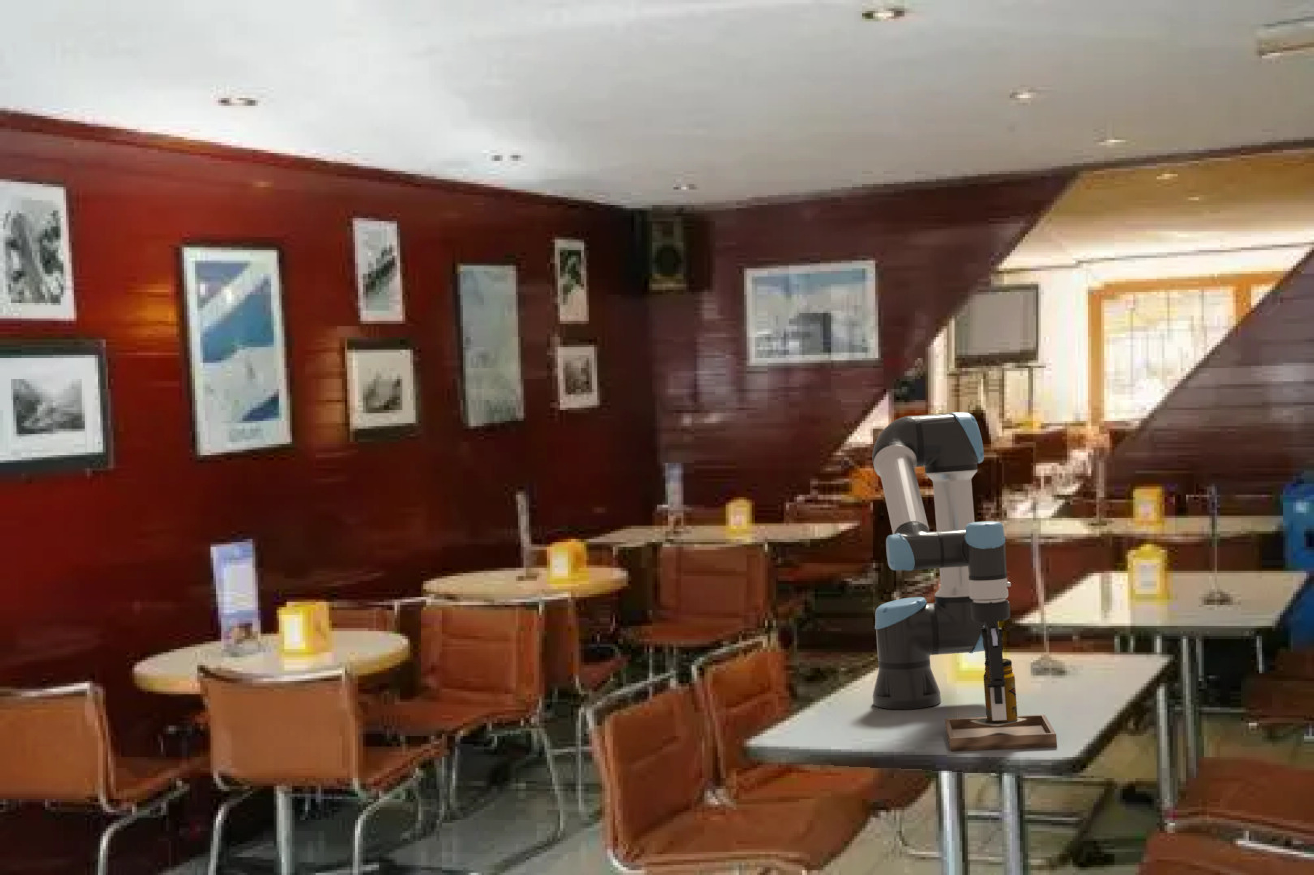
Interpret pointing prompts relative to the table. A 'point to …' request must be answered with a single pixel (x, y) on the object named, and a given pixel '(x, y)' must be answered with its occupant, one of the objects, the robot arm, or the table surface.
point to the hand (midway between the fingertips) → (997, 716)
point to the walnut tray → (1000, 734)
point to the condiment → (1009, 697)
